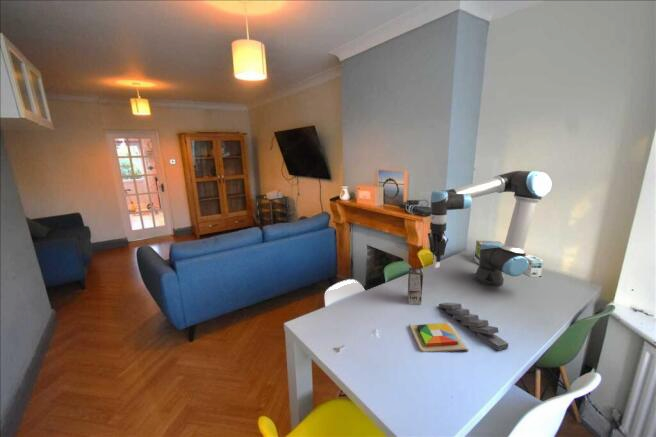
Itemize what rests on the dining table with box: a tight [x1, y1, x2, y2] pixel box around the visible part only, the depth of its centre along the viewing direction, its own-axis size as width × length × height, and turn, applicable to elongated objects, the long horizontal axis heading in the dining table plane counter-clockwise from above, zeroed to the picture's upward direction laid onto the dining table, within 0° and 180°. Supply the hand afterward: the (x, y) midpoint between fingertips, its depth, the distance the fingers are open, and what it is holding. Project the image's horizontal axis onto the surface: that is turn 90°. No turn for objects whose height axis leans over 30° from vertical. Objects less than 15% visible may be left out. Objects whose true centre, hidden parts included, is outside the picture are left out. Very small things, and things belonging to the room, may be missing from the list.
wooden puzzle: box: [408, 322, 469, 353], centre depth 117 cm, size 18×19×4 cm
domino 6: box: [476, 332, 509, 351], centre depth 114 cm, size 2×5×10 cm
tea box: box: [473, 240, 502, 265], centre depth 193 cm, size 15×10×15 cm
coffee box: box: [407, 267, 424, 305], centre depth 146 cm, size 9×6×16 cm
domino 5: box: [468, 325, 499, 335], centre depth 118 cm, size 2×5×10 cm
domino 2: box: [444, 308, 471, 315], centre depth 131 cm, size 2×5×10 cm
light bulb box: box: [523, 254, 544, 278], centre depth 176 cm, size 11×7×11 cm, turn 179°
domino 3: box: [452, 313, 480, 322], centre depth 127 cm, size 2×5×10 cm
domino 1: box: [438, 302, 462, 310], centre depth 136 cm, size 2×5×10 cm
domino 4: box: [460, 318, 490, 327], centre depth 122 cm, size 2×5×10 cm
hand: (436, 266), depth 147 cm, fingers closed
